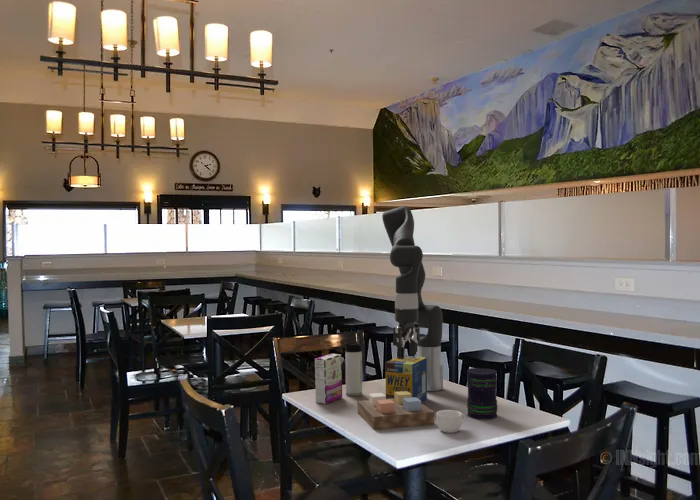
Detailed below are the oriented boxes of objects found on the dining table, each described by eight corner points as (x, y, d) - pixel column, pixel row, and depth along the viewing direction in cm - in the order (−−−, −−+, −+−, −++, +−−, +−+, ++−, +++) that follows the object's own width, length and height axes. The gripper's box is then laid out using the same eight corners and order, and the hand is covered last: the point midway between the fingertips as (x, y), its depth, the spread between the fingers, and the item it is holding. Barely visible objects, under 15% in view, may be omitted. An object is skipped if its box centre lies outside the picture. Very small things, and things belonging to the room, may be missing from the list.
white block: (382, 404, 205) (381, 392, 205) (386, 408, 200) (385, 396, 200) (369, 405, 204) (368, 393, 204) (372, 409, 199) (372, 397, 199)
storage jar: (491, 421, 194) (490, 375, 194) (462, 417, 199) (462, 372, 199) (501, 414, 202) (501, 369, 202) (473, 410, 208) (473, 366, 208)
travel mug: (342, 393, 233) (341, 342, 233) (357, 391, 236) (357, 340, 236) (349, 397, 227) (348, 344, 227) (365, 395, 230) (364, 342, 230)
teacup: (446, 436, 180) (446, 418, 180) (431, 429, 186) (431, 412, 186) (473, 431, 184) (472, 413, 184) (457, 424, 191) (457, 407, 191)
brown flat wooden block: (412, 408, 211) (412, 396, 211) (434, 424, 191) (434, 411, 191) (357, 412, 206) (357, 401, 206) (373, 429, 187) (373, 416, 186)
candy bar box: (331, 396, 229) (331, 353, 229) (342, 398, 226) (342, 354, 226) (314, 403, 220) (314, 358, 219) (325, 404, 217) (325, 359, 217)
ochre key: (407, 402, 207) (407, 391, 207) (411, 406, 202) (411, 394, 202) (394, 403, 206) (394, 391, 206) (398, 407, 201) (398, 395, 201)
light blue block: (416, 409, 198) (416, 397, 198) (421, 413, 194) (421, 400, 194) (403, 410, 197) (402, 398, 197) (407, 414, 193) (407, 401, 193)
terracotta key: (390, 411, 196) (390, 399, 196) (394, 415, 191) (394, 402, 191) (376, 412, 195) (376, 400, 195) (380, 416, 190) (380, 403, 190)
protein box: (385, 405, 215) (384, 362, 215) (401, 395, 229) (401, 354, 229) (412, 408, 210) (412, 364, 210) (427, 398, 224) (427, 356, 224)
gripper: (406, 304, 204) (406, 352, 204) (385, 308, 192) (386, 359, 192) (426, 305, 200) (426, 354, 200) (406, 309, 188) (407, 361, 188)
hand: (406, 356), depth 196 cm, fingers open, 8 cm apart
